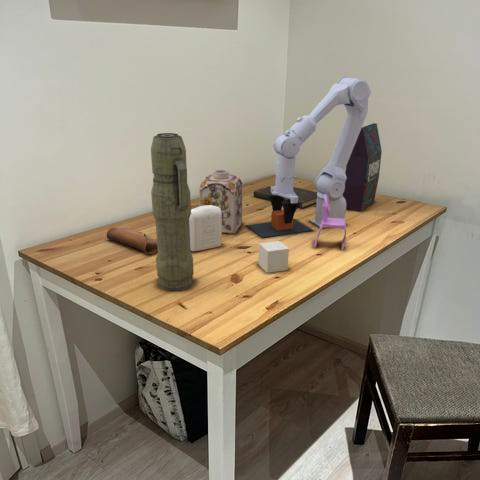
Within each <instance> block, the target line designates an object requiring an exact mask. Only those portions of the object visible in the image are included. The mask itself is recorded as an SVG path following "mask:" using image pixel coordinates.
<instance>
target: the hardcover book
mask: <svg viewBox="0 0 480 480" xmlns="http://www.w3.org/2000/svg"><path fill="white" fill-rule="evenodd" d="M271 186H275V184H273V185H269V186H266V187H263V188H259V189H256V190H254V191H253V197H255V198H259V199H261V200H262V199H263V200H266V201H270V199H269V197H268V195H269V194H272V192H271ZM293 191H294V193H295V194H296V196H298V201H299V202H300V205H299V206H298V208H299V209H306V208H308V207H310V206H313V205H315V204H316V203H317V191H313V190H309V189H304V188H300V187H296V186H294V187H293ZM284 201H287V199H285V198H284ZM298 208H297V209H298Z"/></svg>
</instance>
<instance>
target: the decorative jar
mask: <svg viewBox="0 0 480 480" xmlns="http://www.w3.org/2000/svg"><path fill="white" fill-rule="evenodd" d="M198 196H199V199H198V202H199V203H198V204H199V207H200V206H205V205H213V206H217V207H219V208H220V209H221V213H222V234H228V235H229V234H230V235H236V233H237V232H238V230H239V228H240V227H241V225H242V223H243V182H242V180H241V178H240V177H238V176H237V175H235V174H232V173H231V174H230V172H229V170H227V169H214V170H213V174H208V175H205V176H203V178H202V180H201V183H200V186H199V188H198Z"/></svg>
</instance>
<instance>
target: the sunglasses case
mask: <svg viewBox="0 0 480 480" xmlns="http://www.w3.org/2000/svg"><path fill="white" fill-rule="evenodd" d="M106 239H108V240H112V241H115V242H119V243H122V244H123V245H127V246H130V247H132V248H135V249H137V250H140V251H142V252H145V253H147V254H148V255H152V254H155V253H158V248H157V239H155V238H153V237H151V236H148V235H147V234H146V233H144V232H142V231H139V230H134V229H130V228H126V227H111V228H109V229H108V230H107V232H106Z"/></svg>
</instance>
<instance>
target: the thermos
mask: <svg viewBox="0 0 480 480" xmlns="http://www.w3.org/2000/svg"><path fill="white" fill-rule="evenodd" d="M150 158H151V171H152V174H153V178H152V187H151V191H150V192H151V194H150V196H151V206H152V207H151V208H152V216H153V217H154V220H155V221H154V222H155V234H156V240H157V248H158V252H157V254H156V258H155V262H156V275H157V278H158V286H159V287H160V288H161V289H163V290H167V291H173V292H174V291H175V292H176V291H177V292H178V291H183V290H186V289H189V288H191V287H192V286H193V284H194V274H195V273H194V257H193V254H192V251H191V250H190V226H189V218H190V215H191V210H192V205H191V204H192V203H191V202H192V201H191V190H190V187H189V184H188V169H187V149H186V145H185V143H184V140H183V137H182V135H179V134H178V133H175V132H174V133H173V132H163V133H162V132H161V133H157V134H156V135H154V136H153V138H152V142H151V146H150Z"/></svg>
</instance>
